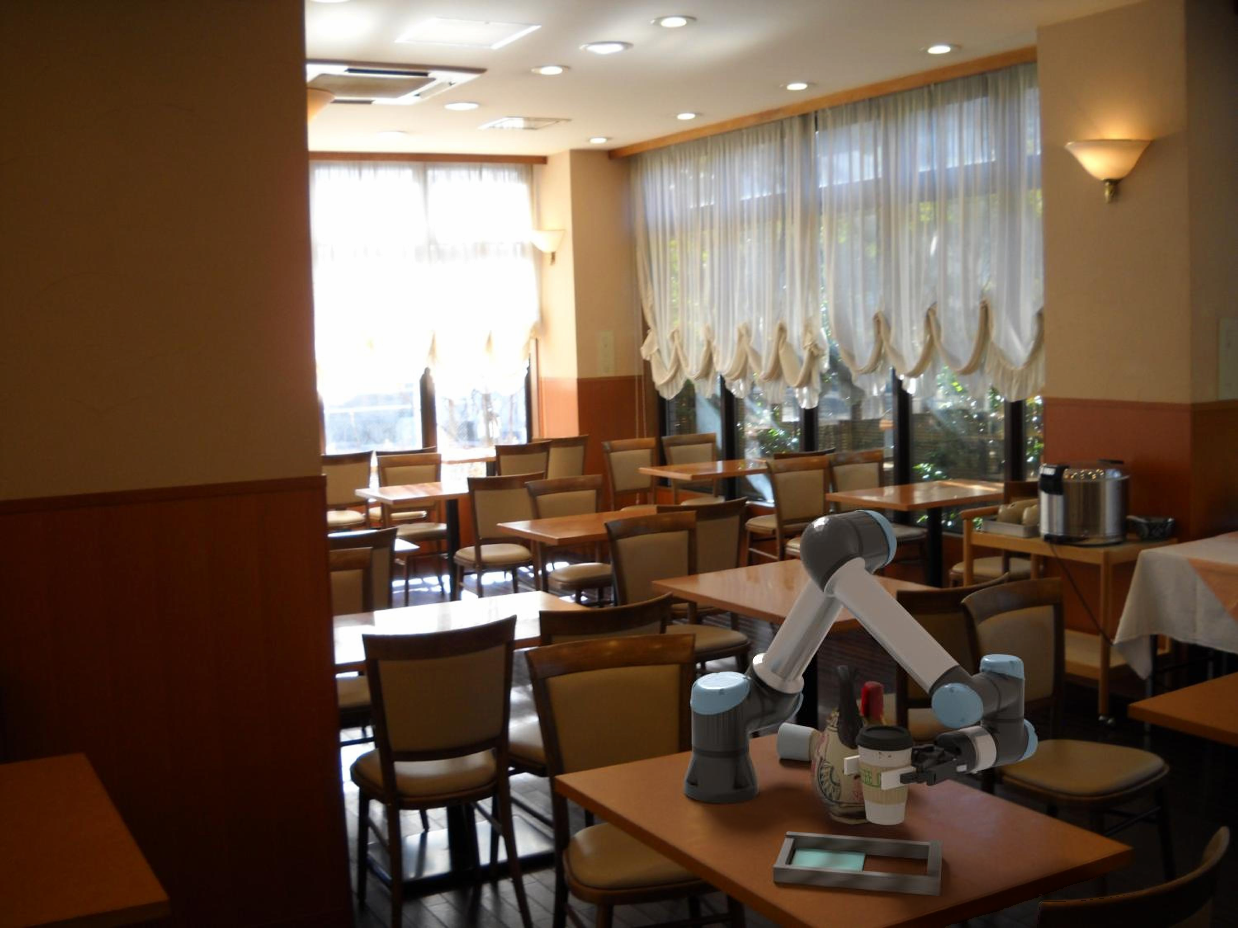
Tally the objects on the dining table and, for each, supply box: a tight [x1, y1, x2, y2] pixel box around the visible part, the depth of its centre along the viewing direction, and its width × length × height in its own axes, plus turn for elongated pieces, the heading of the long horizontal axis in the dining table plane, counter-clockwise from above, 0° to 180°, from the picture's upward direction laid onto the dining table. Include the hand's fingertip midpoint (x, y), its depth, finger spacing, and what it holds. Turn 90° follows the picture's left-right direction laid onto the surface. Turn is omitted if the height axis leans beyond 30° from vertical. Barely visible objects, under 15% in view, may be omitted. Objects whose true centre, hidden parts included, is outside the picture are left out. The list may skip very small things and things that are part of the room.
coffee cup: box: [855, 724, 916, 826], centre depth 218 cm, size 10×10×15 cm
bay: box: [772, 831, 943, 897], centre depth 220 cm, size 27×17×4 cm, turn 75°
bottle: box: [859, 680, 888, 725], centre depth 270 cm, size 12×6×20 cm, turn 36°
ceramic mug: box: [776, 722, 821, 762], centre depth 284 cm, size 11×8×8 cm
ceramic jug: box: [809, 664, 871, 825], centre depth 244 cm, size 17×15×30 cm
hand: (863, 773), depth 216 cm, fingers closed on coffee cup, 9 cm apart
